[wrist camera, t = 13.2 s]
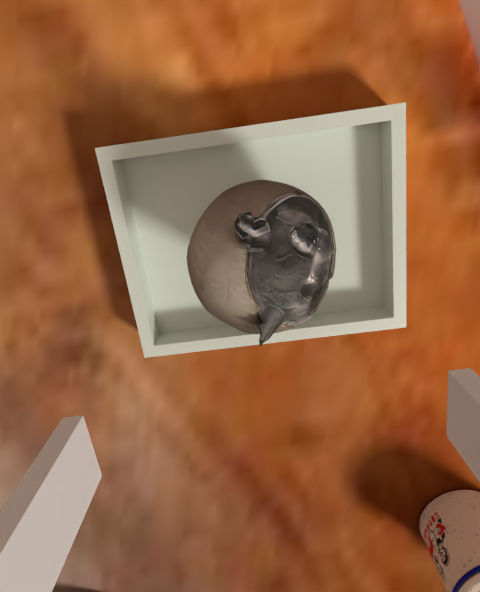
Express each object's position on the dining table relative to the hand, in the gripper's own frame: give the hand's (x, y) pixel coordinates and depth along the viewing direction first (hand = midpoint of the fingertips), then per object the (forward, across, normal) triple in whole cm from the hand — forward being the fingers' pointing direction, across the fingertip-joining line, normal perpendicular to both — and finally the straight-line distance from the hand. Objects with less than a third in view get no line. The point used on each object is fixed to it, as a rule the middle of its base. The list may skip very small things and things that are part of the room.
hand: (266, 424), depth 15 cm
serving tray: (+22, -1, -2) cm, 23 cm away
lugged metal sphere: (+22, -1, -2) cm, 22 cm away
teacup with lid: (+23, -19, +33) cm, 44 cm away
